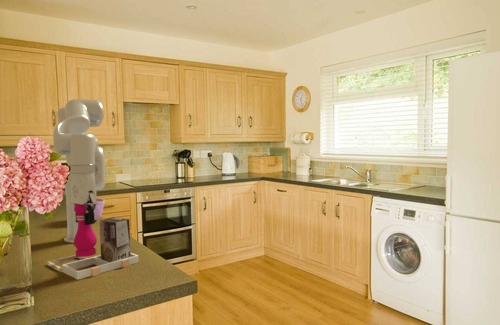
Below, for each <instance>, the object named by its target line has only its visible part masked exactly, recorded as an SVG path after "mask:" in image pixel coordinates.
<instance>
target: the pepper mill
mask: <svg viewBox="0 0 500 325" xmlns="http://www.w3.org/2000/svg"><path fill="white" fill-rule="evenodd" d="M87 203H90V202H87ZM87 207H89V205H88V206H87ZM74 211H75V213H76V214H77V216H76V217H77V219H76V220H78V230H77V233H76V235H75V238H74V243H73V247H75V248H76V250H75V255H76V256H77V257H86V258H88V257H91V256H92V257H93V256H94V255H96V253H97V252H96V250H97V249H96V247H95V246H96V245H97V242H98V241H97V240H98V239H97V236H96V234H95V232H94V230H93V228H92V224H90V225H85V223H84V213H85V208H84V205H79V204H75V207H74Z"/></svg>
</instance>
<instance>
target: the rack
mask: <svg viewBox="0 0 500 325" xmlns="http://www.w3.org/2000/svg"><path fill="white" fill-rule="evenodd" d="M130 254H131V257H129V258H125V259H121V260H118V261H114V262H107V261H105V260H102V259H101V254H100V255H99V254H98V255H96V256H92V257H91V256H90V257H89V258H88V257H86V258H87V259H83V260H81V259H78V260H74V261H71V262H67V263H63V264H62V265H61V267H62V272H61V273H64V274H66V275H68V276H69V277H71V276H72V277H71V278H73V277H74V279H75V280H82V279H85V278H88V277H96V276H100V275H101V274H103V273H107V272H110V271H113V270H117V269H120V268H122V269H123V268H128V267H130V265H134V264H138V263H139V262H140V256H139V255H138V254H136V253H133V252H130ZM92 265H95V266H92ZM90 266H92V267H90ZM85 267H88V268H85ZM81 268H85V269H81ZM78 269H80V270H78Z"/></svg>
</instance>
